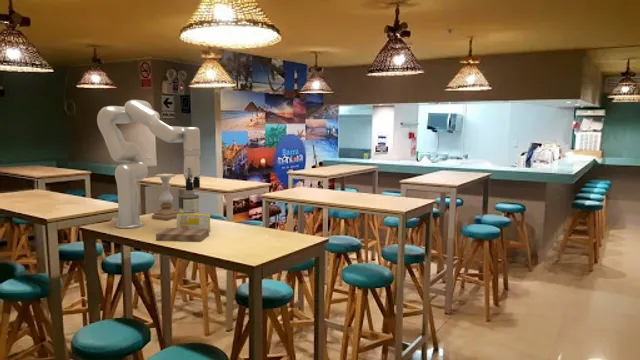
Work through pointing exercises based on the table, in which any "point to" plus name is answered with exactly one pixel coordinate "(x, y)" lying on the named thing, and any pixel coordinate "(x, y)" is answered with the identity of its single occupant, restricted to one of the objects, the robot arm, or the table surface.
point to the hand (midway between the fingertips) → (193, 189)
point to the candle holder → (165, 200)
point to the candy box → (193, 221)
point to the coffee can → (189, 204)
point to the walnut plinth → (182, 234)
